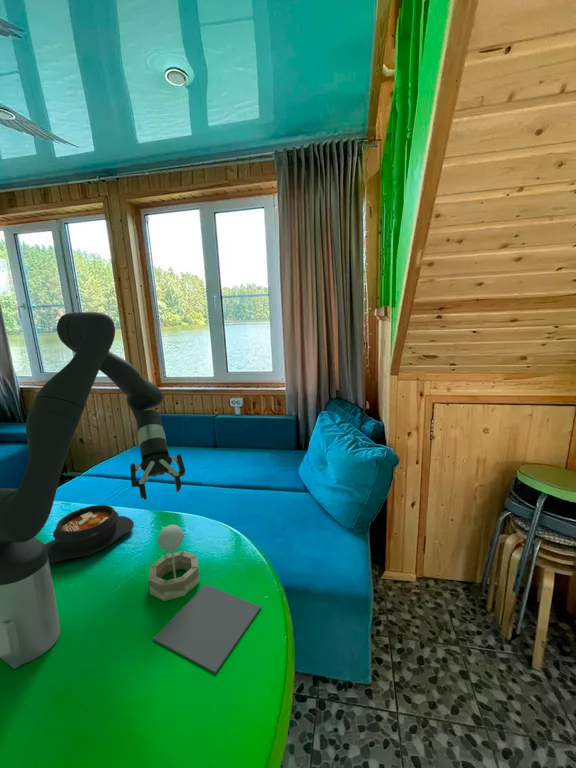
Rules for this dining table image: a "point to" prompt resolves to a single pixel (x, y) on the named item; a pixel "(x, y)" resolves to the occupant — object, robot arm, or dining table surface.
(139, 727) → the dining table surface
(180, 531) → the lollipop
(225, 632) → the mat
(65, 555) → the casserole
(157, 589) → the octagonal ring
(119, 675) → the dining table surface
